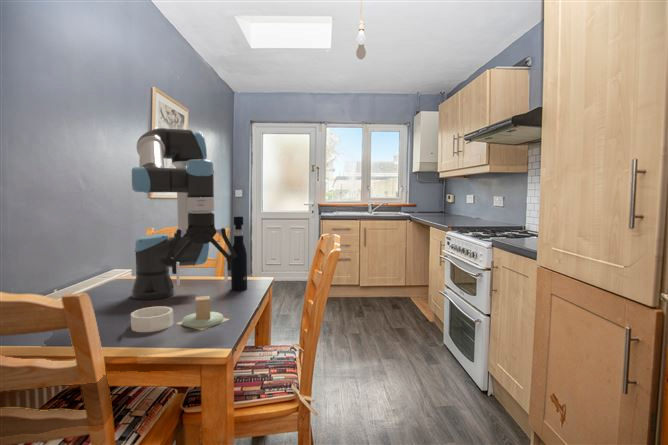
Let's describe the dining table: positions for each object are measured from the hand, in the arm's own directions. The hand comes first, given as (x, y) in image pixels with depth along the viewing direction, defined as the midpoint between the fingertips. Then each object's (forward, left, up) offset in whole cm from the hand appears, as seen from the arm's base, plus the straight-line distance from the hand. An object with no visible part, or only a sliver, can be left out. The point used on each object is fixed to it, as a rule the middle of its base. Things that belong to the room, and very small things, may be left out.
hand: (202, 283), depth 117 cm
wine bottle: (-21, +38, -13) cm, 46 cm away
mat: (0, 0, -13) cm, 13 cm away
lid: (0, 0, -12) cm, 12 cm away
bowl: (-10, -10, -13) cm, 19 cm away
